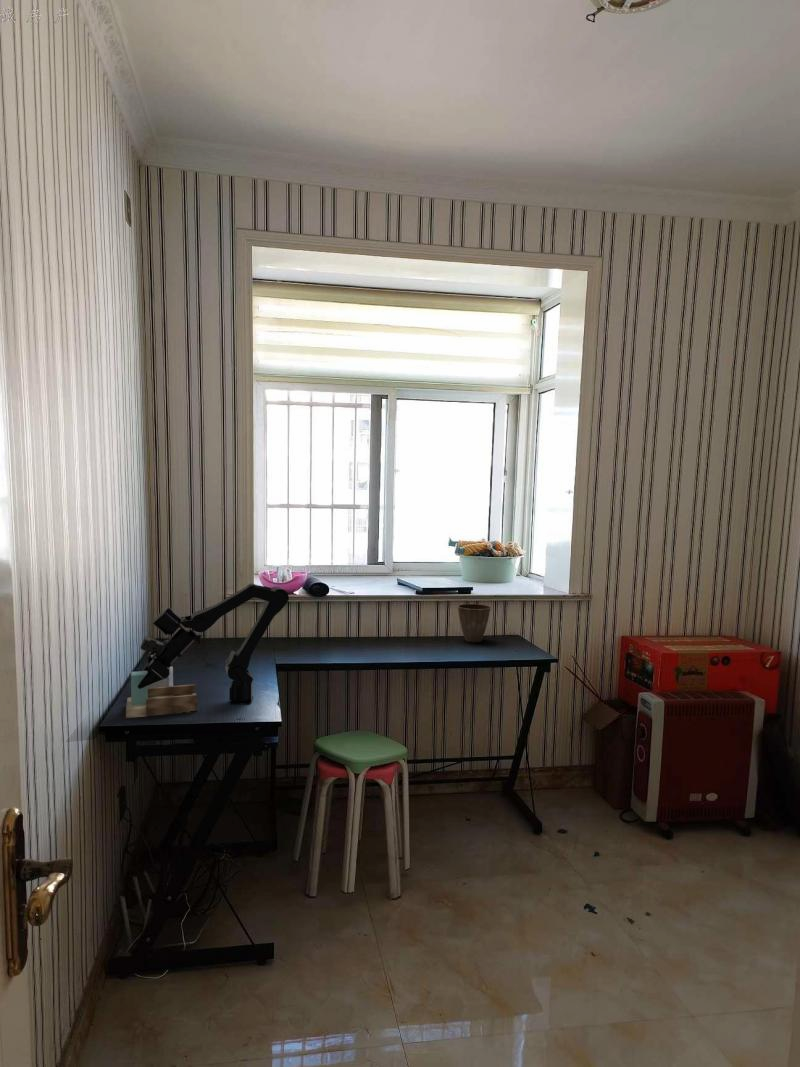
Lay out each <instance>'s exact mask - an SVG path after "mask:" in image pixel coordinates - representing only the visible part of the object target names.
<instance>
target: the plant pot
mask: <svg viewBox="0 0 800 1067" xmlns="http://www.w3.org/2000/svg"><path fill="white" fill-rule="evenodd" d="M457 610H458V616H459V617H458V618H459V622H460V627H461V631H462V634H463V637H464V640H465V642H468V643H481V642H482V640H483V638H484V636H485V632H486V629H487V626H488V623H489V617H490V614H491V613H490V612H491V606H489V605H486V604H476V603H464V604H463V603H462V604H459V605H457Z"/></svg>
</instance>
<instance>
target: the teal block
mask: <svg viewBox="0 0 800 1067" xmlns="http://www.w3.org/2000/svg"><path fill="white" fill-rule="evenodd" d="M146 673H147V671H143V670H139V671H131V672H130V697H131V705H142V704H146V699H147V686H146V687H144V688H141V689H139V688H138V687H137V686H138V685H139V683H140V682H141V680H142V679H143V678H144V676H145V675H146Z"/></svg>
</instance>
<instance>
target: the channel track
mask: <svg viewBox="0 0 800 1067" xmlns="http://www.w3.org/2000/svg"><path fill="white" fill-rule="evenodd" d="M190 711H197V712H198V694H197V693H196V684H194V683H193V684H182V685H173V686H167V687H155V688H147V699H146V704H142V705H131V696H130V697H127V699H126V708H125V718H126V719H132V718H140V717H141V718H143V717H152V716H163V715H172V714H175V713H176V714H183V713H182V712H186V713H191V712H190Z"/></svg>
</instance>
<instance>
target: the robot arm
mask: <svg viewBox="0 0 800 1067" xmlns="http://www.w3.org/2000/svg"><path fill="white" fill-rule="evenodd" d="M254 598H255V599H259V600H262V601H264V604H263V607H262V608H263V609H262V611H261V612H260V614H259V616H258V618H257V619H256V620H255V623H254V624H253V626H252V628H251V629H250V630H249V632H248V634H247V636H246V638H245V640H244V641H243V643H242V644H241V647H240V648H238V649H237V650H236V652H235V651H234V650H231V652H230V653H229V657H227V658H226V659H225V671H226V674H227V676H228V678H230V680H232V681H231V685H230V687H229V694H228V695H229V701H230V702H229V704H230V705H245V704H246V705H249V704H250V705H251V704H252V703H253V700H254V695H253V682H254V678H253V676H252V674H251V672H250V670H248V668H249V666H250V662H251V658H252V655H253V654H254V652H255V650H256V648H257V647H258V645H259V643H260V641H261V640H262V638H263V636H264V634H265V633H266V631H267V629H268V628H269V627H270V624H271V623H272V621H273V619H274V617H276V616H277V615H278V614H280V612H281V611H282V610H283V609H284V607H286V605H287V604H288V602H289V600H290V599H289V598H290V597H289V593H288V592H287V591H286V589H284V588H282V587H281V586H277V585H276V586H273V587H269V586H265V585H259V584H255V583H249V584H248V585H246V586H245V587H243V588H242V589H240V590H238V591H236V592H235V593H233V594H231V595H230V596H228V597H226V598H224V599H223V600H221V601H219V602H217V603H216V604H213V605H211V606H208V607H204V608H202V609H199V610H197V611H194V612H192V614H191V615H186V616H179V615H178V614H177V613H175V612H174V611H173V609H172V608H171V607H169V606H168V607H167V608H166V609H164V610H163V611H161V612H160V613H159V614H157V615H156V617H155V618H154V619H153V620H152V622H151V625H152V626H154V627H156V628H157V629H158V631H160V632H161V633H162V634H164V635H165V636H169V635H170V636H171V635H172V636H171V637H170V638H169V639H166V640H165V639H164V641H159V640H158V639H154V638H152V637H148V636H144V637H143V640H142V642H141V644H140V647H139V648H140V650H142V651H147V652H149V654H148V655H147V657H148V658H147V660H148V661H147V663H146V665H145V667H144V668H143V669H142V671H147V673H146V675H145V676H144V678H143V679H142V680H141V682H140V683H139V685H138V686H137V687H138V688H139V689H141V688H144V687H146V686H148V685H150V684H153V683H155V682H158V681H160V680H163V679H166V678H167V677H168V676H169V675H170V669H169V668H170V667H171V666H172V665H173V663H174V662H175V661H176V660H177V659H178V658H181V657H182V655H183V653H184V652H185V651H186V650H187V648H189V646H191V644H192V643H193V642H196V643H197V644H198V645H200V644H201V643H202V642H201V638H202V633H205V632H206V631H208V630H209V629H210V628H211V627H212V626H213V625H214V624H216V622H217V621H219V620H220V618H222V617H224V615H226V614H228V613H230V612H231V611H233V610H235V609H236V608H238V607H240V606H242V605H243V604H245V603H247V602H249V601H250V600H251V599H254ZM172 667H173V666H172Z"/></svg>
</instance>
